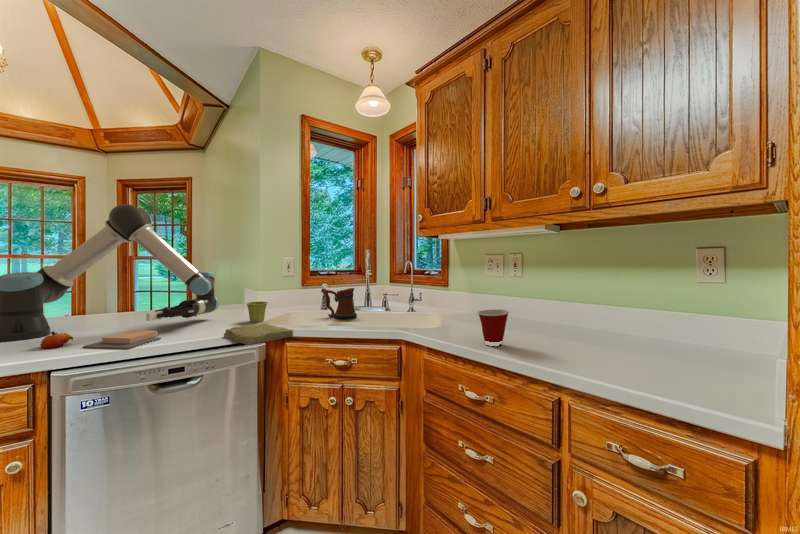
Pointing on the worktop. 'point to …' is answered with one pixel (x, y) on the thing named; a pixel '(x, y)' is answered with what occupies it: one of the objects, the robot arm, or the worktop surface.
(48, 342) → the sweet potato
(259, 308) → the plant pot
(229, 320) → the worktop surface
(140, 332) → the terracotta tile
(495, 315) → the plastic cup
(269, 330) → the folded olive cloth
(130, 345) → the charcoal mat
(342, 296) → the mug
